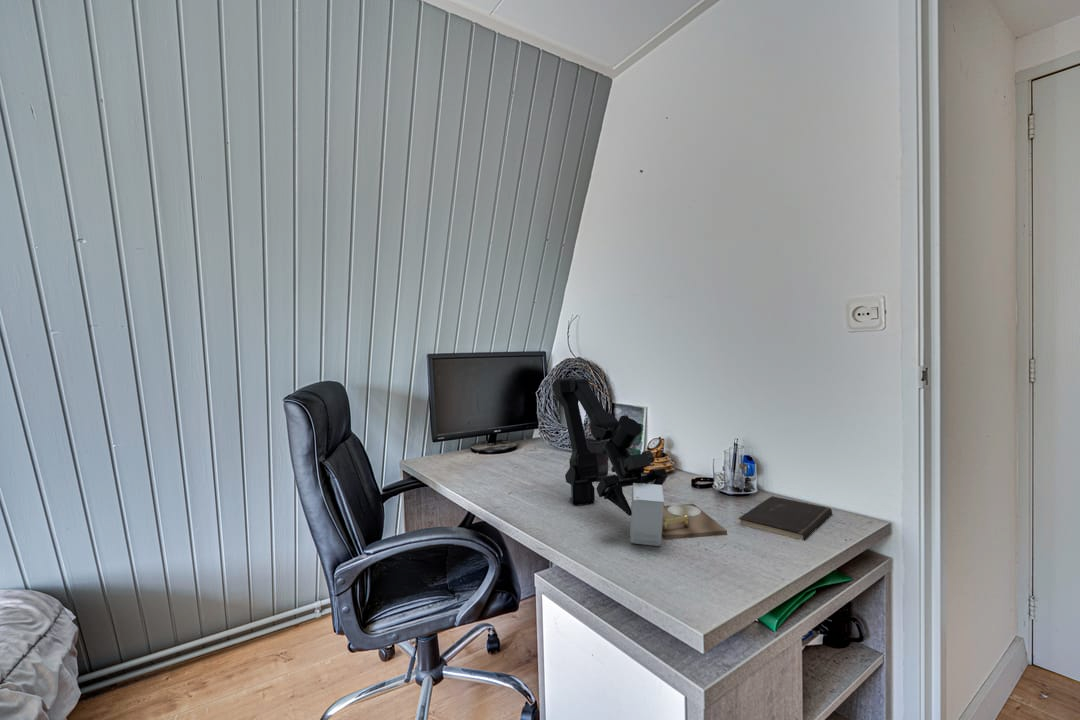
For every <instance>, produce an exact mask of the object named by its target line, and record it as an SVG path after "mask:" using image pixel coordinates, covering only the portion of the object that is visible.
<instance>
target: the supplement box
mask: <svg viewBox="0 0 1080 720" xmlns="http://www.w3.org/2000/svg"><path fill="white" fill-rule="evenodd" d="M631 487H632V490H631V502H630V503H631V506H630V509H631V512H632V515H631V516H630V521H629V522H630V524H629V534H630V535H629V536H630V537H629V538H630V539H629V540H630V541H629V542H630V543H631V544H637V545H644V546H653V547H654V546H655V547H657V546H658V547H660V546H661V545H662V523H663V510H664V506H665V497H664V489H663V484H662V485H655V484H645V483H643V484H641V483H633V485H632V486H631Z"/></svg>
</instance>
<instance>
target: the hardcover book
mask: <svg viewBox="0 0 1080 720" xmlns="http://www.w3.org/2000/svg"><path fill="white" fill-rule="evenodd" d="M831 514H832V515H833V510H832V508H830V507H827V506H822V505H817V504H811V503H807V502H802V501H797V500H793V499H787V498H785V497H783V498H782V497H777V496H773V495H771V496H770V497H768V498H767V499H765V500H763V501H762V502H761V503H760V504H757V505H756V506H755V507H753V508H751V509H750V510H749V511H747V512H746V513H744V514H743V515H741V516H739V517H738V519H737V520H740V521H739V523H740V526H745V527H749V528H753V529H756V530H761V531H763V532H768V533H773V534H776V535H781V536H784V537H787V536H788V537H789V538H791V537H792V539H795V538H796V540H799V539H802V540H801V541H803V540H804V541H806V540H807V539H808V538H809V537H810V536H811V535H812V534H813V533H814V532H815V531H816V530H817V529H818V528H820V526H821V525H822V523H823V522H824V521H825V520H826V519H827V518H828V517H829V516H830V515H831ZM832 515H831V516H832ZM831 516H830V517H831ZM830 517H829V518H830ZM829 518H828V519H829ZM828 519H827V520H828ZM827 520H826V521H827ZM826 521H825V522H826ZM825 522H824V523H825ZM824 523H823V524H824ZM816 528H817V529H816ZM815 529H816V530H815ZM814 530H815V531H814ZM813 531H814V532H813ZM812 532H813V533H812ZM811 533H812V534H811ZM810 534H811V535H810ZM809 535H810V536H809ZM808 536H809V537H808ZM807 537H808V538H807ZM806 538H807V539H806ZM805 539H806V540H805Z"/></svg>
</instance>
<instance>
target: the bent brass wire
mask: <svg viewBox="0 0 1080 720" xmlns="http://www.w3.org/2000/svg"><path fill="white" fill-rule="evenodd" d="M688 520H689V517H688V513H687V508H683V516H679V517H673V518H668V519H664V521H663V531H664V532H667V524H672V523H677V522H682V521H684V527H685V528H688Z"/></svg>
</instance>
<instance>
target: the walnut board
mask: <svg viewBox="0 0 1080 720" xmlns="http://www.w3.org/2000/svg"><path fill="white" fill-rule="evenodd" d="M683 508H687V513H688V517H689V520H688V528H685V527H684V521H682V522H677V523H672V524H667V532H664V531H663V523H662V536H663V537H662V536H661V537H662V538H663V539H664V540H673V539H674V538H675V539H685V538H687V537H688V538H697V537H698V538H699V537H710V536H711V537H712V536H722V535H723V536H724V535H728V530H727V529H726V528H724V527H723V526H722V525H721V524H720V523H719V522H717V521H716V520H714V519H713V518H712V517H711V516H709V515H708V513H706V512H705V511H703V510H702V509H701V508H700V507H698V506H697V505H696V504H695V503H686V504H672V505H664V510H663V521H664V519H668V518H673V517H679V516H683Z"/></svg>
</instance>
